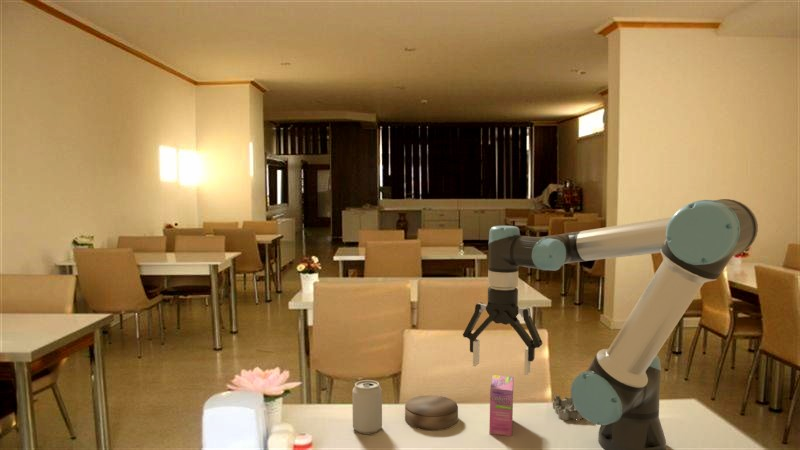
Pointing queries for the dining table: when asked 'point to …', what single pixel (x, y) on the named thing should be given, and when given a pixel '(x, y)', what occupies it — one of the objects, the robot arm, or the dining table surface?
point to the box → (501, 405)
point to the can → (367, 406)
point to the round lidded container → (431, 413)
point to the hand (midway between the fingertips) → (501, 369)
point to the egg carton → (569, 408)
